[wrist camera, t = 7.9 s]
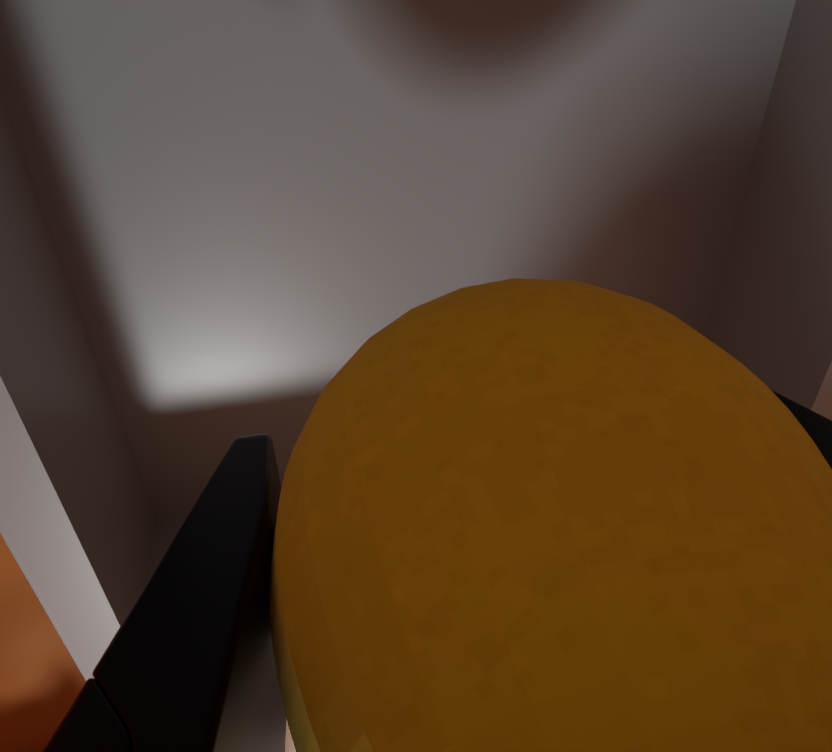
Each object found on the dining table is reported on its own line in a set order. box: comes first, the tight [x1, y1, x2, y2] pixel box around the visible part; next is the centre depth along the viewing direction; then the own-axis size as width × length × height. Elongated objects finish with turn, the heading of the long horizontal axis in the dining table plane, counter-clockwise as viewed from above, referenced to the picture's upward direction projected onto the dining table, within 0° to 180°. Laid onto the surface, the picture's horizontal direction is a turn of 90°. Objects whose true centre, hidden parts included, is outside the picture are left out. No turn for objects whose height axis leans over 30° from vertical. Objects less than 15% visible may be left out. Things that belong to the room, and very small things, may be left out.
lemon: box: [269, 278, 832, 752], centre depth 7 cm, size 6×6×8 cm
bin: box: [0, 0, 832, 681], centre depth 12 cm, size 14×14×4 cm
